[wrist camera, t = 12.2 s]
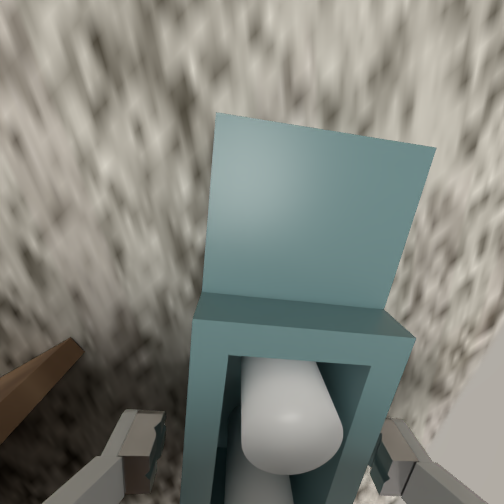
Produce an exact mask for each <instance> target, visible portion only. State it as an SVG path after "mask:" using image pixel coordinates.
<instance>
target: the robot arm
mask: <svg viewBox="0 0 504 504" xmlns="http://www.w3.org/2000/svg"><path fill="white" fill-rule="evenodd" d="M165 420H166V411H152V410H136V409H126V410H125V411H124V412H123V413H122V415H121V417H120V419H119V421H118V423H117V425H116V427H115V429H114V431H113V432H112V434H111V436H110V438H109V440H108V442H107V444H106V446H105V448H104V450H103V452H102V454H101V456H96V457H95V458H93V459H92V460H91V461H90V462H89V463H88V464H86V465H85V466H84V467H83V468H82V469H81V470H80V471H78V472H77V473H76V474H75V475H74V476H73V477H72V478H70V479H69V480H68V481H67V482H66V483H65V484H64V485H62V486H61V487H60V488H59V489H58V490H57V491H56V492H54V493H53V494H52V495H51V496H50V497H49V498H48V499H46V500H45V501H44V502H43V503H42V504H119V502H120V501H121V500H122V499H123V497H124V494H150V492H151V489H152V485H153V482H154V479H155V475H156V472H157V460H158V459H159V458H160V457H161V454H162V451H163V447H164V442H165V436H166V426H165V425H164V423H165ZM368 465H369V466H370V467H371V468H370V475H371V478H372V480H373V482H374V484H375V486H376V489H377V491H378V493H379V495H385V496H402V497H401V498H402V499H403V500H404V501H405V502H406V503H407V504H488V503H487V502H486V501H484V500H483V499H482V498H481V497H479V496H478V495H477V494H475V493H474V492H473V491H472V490H470V489H469V488H468V487H467V486H465V485H464V484H463V483H462V482H461V481H459V480H458V479H457V478H456V477H454V476H453V475H452V474H450V473H449V472H448V471H447V470H446V469H444V468H443V467H442V466H440V465H439V464H438V463H434V462H432V460H431V458H430V457H429V456H428V454H427V453H426V451H425V450H424V448H423V447H422V445H421V444H420V443H419V441H418V440H417V438H416V437H415V435H414V434H413V433H412V431H411V430H410V428H409V427H408V425H407V424H406V422H405V421H404V420H402V419H397V418H385V421H384V424H383V426H382V429H381V431H380V434H379V437H378V439H377V442H376V445H375V447H374V450H373V452H372V455H371V458H370V460H369V463H368Z"/></svg>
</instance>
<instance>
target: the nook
mask: <svg viewBox="0 0 504 504" xmlns="http://www.w3.org/2000/svg"><path fill="white" fill-rule="evenodd" d="M83 353H84V351H83V350H82V349H81V348H80V347H79V346H78V345H77V344H76V342H75V341H74V340H73V339H72V338H71V337H70V338H69V339H67V340H65V341H63V342H62V343H60V344H58V345H57V346H55V347H53V348H51V349H50V350H48V351H46V352H44V353H43V354H41V355H39V356H37V357H36V358H34V359H32V360H30V361H29V362H27V363H25V364H23V365H22V366H20V367H18V368H16V369H15V370H13V371H11V372H9V373H8V374H6V375H4V376H3V377H1V378H0V445H1V443H2V442H3V441H4V440H5V439H6V438H7V437H8V436H9V435H10V434H11V432H12V431H13V430H14V429H15V428H16V427H17V426H18V425H19V424H20V423H21V421H22V420H23V419H24V418H25V417H26V416H27V415H28V414H29V413H30V412H31V410H32V409H33V408H34V407H35V406H36V405H37V404H38V403H39V402H40V401H41V399H42V398H43V397H44V396H45V395H46V394H47V393H48V392H49V391H50V390H51V388H52V387H53V386H54V385H55V384H56V383H57V382H58V381H59V380H60V379H61V377H62V376H63V375H64V374H65V373H66V372H67V371H68V370H69V369H70V368H71V367H72V365H73V364H74V363H75V362H76V361H77V360H78V359H79V358H80V357H81V356H82V354H83Z"/></svg>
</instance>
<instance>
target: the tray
mask: <svg viewBox="0 0 504 504" xmlns="http://www.w3.org/2000/svg"><path fill="white" fill-rule="evenodd" d="M435 151H436V148H435V147H429V146H422V145H416V144H410V143H404V142H397V141H391V140H385V139H379V138H373V137H366V136H360V135H354V134H348V133H341V132H335V131H329V130H323V129H317V128H310V127H304V126H298V125H292V124H286V123H279V122H273V121H267V120H261V119H254V118H248V117H242V116H236V115H230V114H223V113H217V112H216V120H215V132H214V145H213V158H212V170H211V183H210V196H209V208H208V221H207V234H206V246H205V259H204V272H203V284H202V293H201V296H200V299H199V302H198V305H197V308H196V311H195V313H194V316H193V321H192V335H191V350H190V364H189V378H188V393H187V407H186V422H185V436H184V451H183V465H182V480H181V494H180V504H353V502H354V499H355V497H356V494H357V491H358V489H359V486H360V484H361V481H362V478H363V476H364V473H365V471H366V468H367V465H368V463H369V460H370V458H371V455H372V452H373V450H374V447H375V445H376V442H377V439H378V437H379V434H380V431H381V429H382V426H383V424H384V421H385V418H386V416H387V413H388V411H389V408H390V405H391V403H392V400H393V398H394V395H395V392H396V390H397V387H398V385H399V382H400V379H401V377H402V374H403V372H404V369H405V366H406V364H407V361H408V358H409V356H410V353H411V351H412V348H413V345H414V343H415V340H416V338H415V337H414V336H413V335H412V334H411V333H410V332H409V331H407V330H406V329H405V328H404V327H403V326H402V325H401V324H400V323H399V322H397V321H396V320H395V319H394V318H393V317H392V316H391V315H390V314H388V313H387V312H386V311H385V310H384V308H385V305H386V301H387V298H388V295H389V292H390V289H391V286H392V283H393V280H394V277H395V274H396V271H397V268H398V265H399V261H400V258H401V255H402V252H403V249H404V246H405V243H406V240H407V237H408V234H409V231H410V228H411V225H412V222H413V218H414V215H415V212H416V209H417V206H418V203H419V200H420V197H421V194H422V191H423V188H424V185H425V182H426V178H427V175H428V172H429V169H430V166H431V163H432V160H433V157H434V154H435Z"/></svg>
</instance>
